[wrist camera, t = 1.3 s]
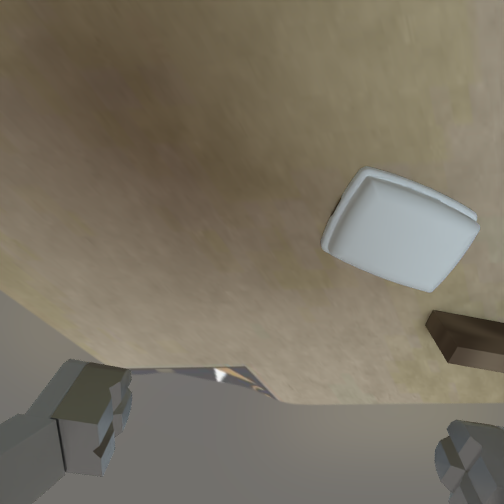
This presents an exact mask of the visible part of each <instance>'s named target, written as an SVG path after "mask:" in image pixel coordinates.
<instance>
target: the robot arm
mask: <svg viewBox="0 0 504 504" xmlns="http://www.w3.org/2000/svg"><path fill="white" fill-rule="evenodd" d="M131 378H132V377H131V370H130V369H126V368H120V367H115V366H109V365H104V364H98V363H93V362H86V361H80V360H75V359H69V360H68V361H66V362H65V363H63V365H62V366H61V367H60V369H59V370H58V371H57V373H56V374H55V375H54V377H53V378H52V379H51V381H50V382H49V383H48V385H47V386H46V387H45V389H44V390H43V391H42V392H41V394H40V395H39V396H38V398H37V399H36V400H35V402H34V403H33V404H32V406H31V407H30V409H29V410H28V411H27V412H26V414H17V415H15V416H13V417H12V418H10V419H8V420H6V421H5V422H3V423H1V424H0V504H32V503H34V502H35V501H36V500H37V499H38V498H39V497H40V496H42V495H43V494H44V493H45V492H46V491H47V490H48V489H50V488H51V487H52V486H53V485H54V484H55V483H56V482H57V481H59V480H60V479H61V478H62V477H63V476H64V475H65V472H68V473H76V474H84V475H92V476H100V477H102V476H103V475H104V472H105V470H106V468H107V466H108V464H109V461H110V459H111V457H112V455H113V452H114V450H115V441H114V438H115V437H116V436H117V435H119V434H120V433H121V432H122V431H123V429H124V427H125V425H126V422H127V420H128V416H129V413H130V410H131V404H132V392H131V391H130V389H129V388H128V386H129V384H130V382H131V380H132V379H131ZM447 431H448V433H449V436H448V437H446V438H444V439H442V440H440V441H439V443H438V445H437V447H436V449H435V466H436V471H437V473H438V476H439V478H440V481H441V482H442V483H443V484H444V486H445V487H446V488H447V489H448V490H449V491H450V492H451V493H450V497H449V504H504V427H500V426H494V425H489V424H482V423H475V422H468V421H461V420H455V421H453V422H451V423H450V425H449V426H448V428H447Z"/></svg>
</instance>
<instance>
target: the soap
mask: <svg viewBox="0 0 504 504" xmlns="http://www.w3.org/2000/svg"><path fill="white" fill-rule="evenodd" d="M341 198H342V199H341V200H340V202H339V204H338V206H337V208H336V210H335V211H334V213H333V215H331V216H330V219H329V221H328V223H327V225H326V228H325V230H324V233H323V236H322V238H321V247H322V249H323V250H324V251H325V252H327V253H329V254H331V255H332V256H334V257H336V258H338V259H340V260H342V261H344V262H346V263H348V264H350V265H352V266H355V267H357V268H359V269H361V270H364V271H366V272H368V273H371V274H373V275H376V276H379V277H381V278H384V279H386V280H389V281H392V282H395V283H398V284H401V285H404V286H408V287H411V288H414V289H418V290H422V291H426V292H433V290H434V289H435V288H436V287H437V286H438V285H439V284H440V283H441V282H442V281H443V280H444V279H445V278H446V277H447V276H448V274H449V273H450V272H451V271H452V270H453V268H454V267H455V266H456V265H457V263H458V262H459V261H460V259H461V258H462V257H463V255H464V254H465V252H466V251H467V250H468V248H469V247H470V245H471V244H472V242H473V240H474V239H475V237H476V235H477V234H478V232H479V230H480V225H479V224H478V223H477V222H476V221H477V214H476V213H475V212H474V211H473V210H471V209H470V208H468V207H466V206H465V205H463V204H461V203H459V202H458V201H456V200H454V199H452V198H450V197H448V196H446V195H444V194H442V193H440V192H438V191H436V190H434V189H432V188H429V187H427V186H425V185H422V184H420V183H418V182H415V181H413V180H410V179H407V178H405V177H402V176H399V175H396V174H393V173H390V172H387V171H384V170H380V169H377V168H373V167H369V166H365V167H362V168H361V169H360V170H359V171H358V172H357V173H356V175H355V176H354V178H353V179H352V180H351V182H350V183H349V185H348V186H347V188H346V189H345V191H344V193H343V194H342V196H341ZM439 200H440V201H439Z"/></svg>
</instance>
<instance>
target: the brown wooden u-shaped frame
mask: <svg viewBox="0 0 504 504" xmlns="http://www.w3.org/2000/svg"><path fill="white" fill-rule="evenodd" d="M425 326H426V327H427V329H428V331H429V332H430V334H431V336H432V337H433V339H434V341H435V342H436V344H437V346H438V347H439V349H440V351H441V352H442V354H443V356H444V357H445V359H446V361H447V362H448V363H451V364H457V365H462V366H468V367H474V368H479V369H485V370H491V371H496V372H502V373H504V323H500V322H495V321H489V320H484V319H478V318H473V317H467V316H462V315H456V314H451V313H445V312H440V311H435V310H433V312H432V314H431V315H430V317H429V319H428V321H427V323H426V325H425Z"/></svg>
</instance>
